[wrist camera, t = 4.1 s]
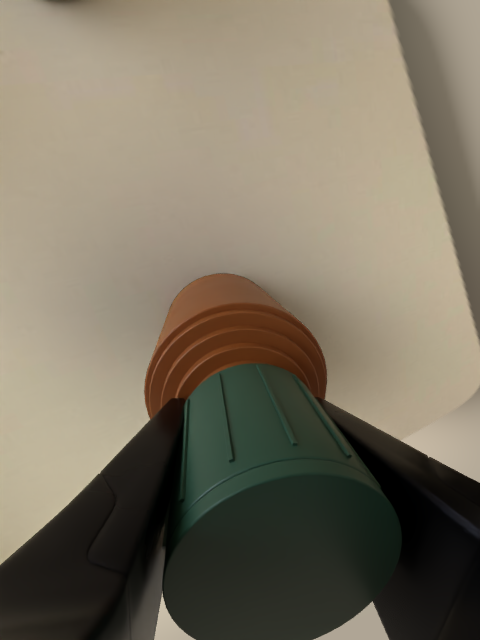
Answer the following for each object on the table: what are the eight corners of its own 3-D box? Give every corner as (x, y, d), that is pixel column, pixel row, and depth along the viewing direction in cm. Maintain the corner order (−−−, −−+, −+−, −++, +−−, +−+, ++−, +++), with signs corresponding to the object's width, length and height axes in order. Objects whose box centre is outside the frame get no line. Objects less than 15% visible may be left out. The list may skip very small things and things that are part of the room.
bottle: (296, 330, 17) (493, 520, 6) (218, 396, 18) (256, 690, 6) (227, 248, 15) (320, 292, 4) (141, 326, 16) (-6, 568, 4)
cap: (259, 333, 7) (316, 424, 4) (340, 424, 9) (440, 556, 5) (146, 427, 8) (102, 593, 4) (240, 502, 9) (268, 679, 5)
